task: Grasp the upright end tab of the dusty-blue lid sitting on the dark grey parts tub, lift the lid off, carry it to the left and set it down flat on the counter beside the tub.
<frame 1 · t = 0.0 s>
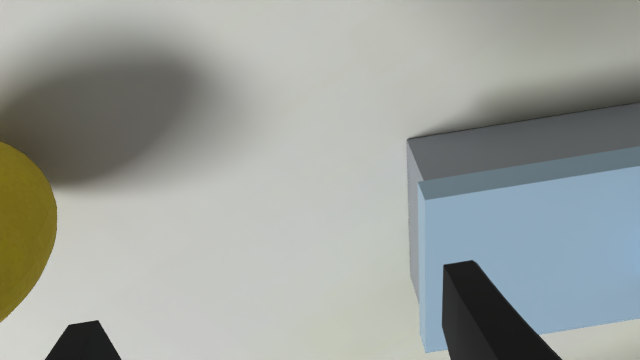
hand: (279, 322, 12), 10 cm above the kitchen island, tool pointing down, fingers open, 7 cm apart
tub: (544, 193, 24), on the kitchen island
lemon: (3, 155, 20), on the kitchen island
lid: (577, 241, 22), point 3 cm above the kitchen island, touching tub
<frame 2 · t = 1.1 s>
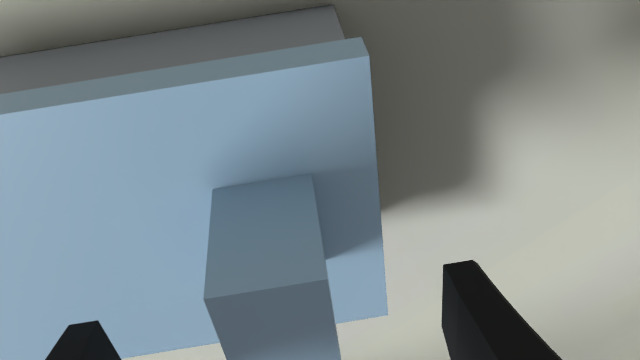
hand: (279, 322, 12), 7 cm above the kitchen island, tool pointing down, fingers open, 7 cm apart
tub: (157, 159, 17), on the kitchen island
lid: (143, 222, 15), point 3 cm above the kitchen island, touching tub
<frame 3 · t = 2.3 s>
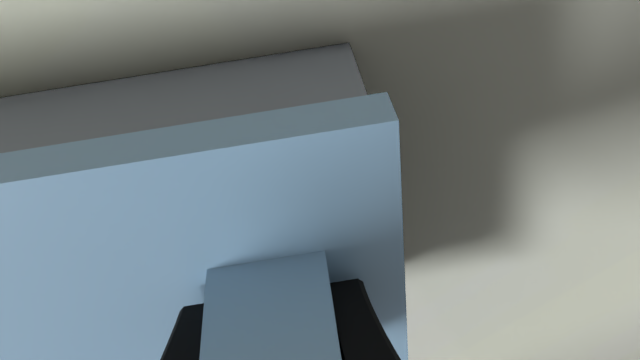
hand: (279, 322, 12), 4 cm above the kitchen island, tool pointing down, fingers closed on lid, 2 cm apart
tub: (146, 212, 15), on the kitchen island
lid: (127, 297, 13), point 3 cm above the kitchen island, touching gripper, tub
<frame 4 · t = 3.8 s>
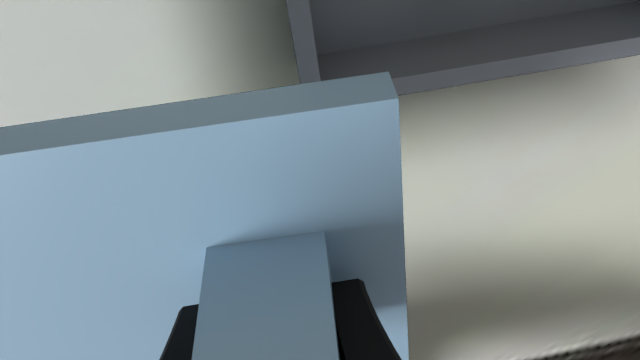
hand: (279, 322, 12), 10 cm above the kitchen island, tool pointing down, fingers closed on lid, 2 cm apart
lid: (128, 276, 13), point 8 cm above the kitchen island, touching gripper
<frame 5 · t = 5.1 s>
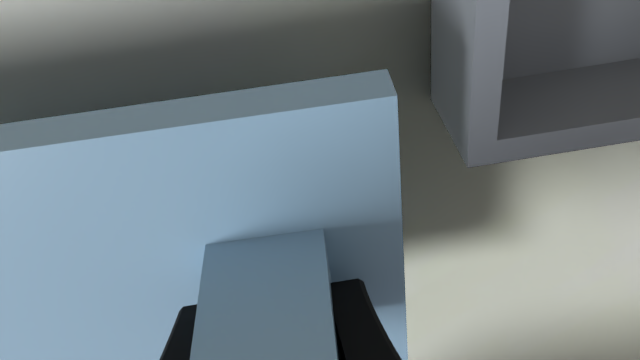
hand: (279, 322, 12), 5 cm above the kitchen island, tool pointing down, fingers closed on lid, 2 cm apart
lid: (128, 273, 13), point 3 cm above the kitchen island, touching gripper
when the fingers open (3 cm above the kitchen island, at t = 5.8 s): lid drops 1 cm, on the kitchen island.
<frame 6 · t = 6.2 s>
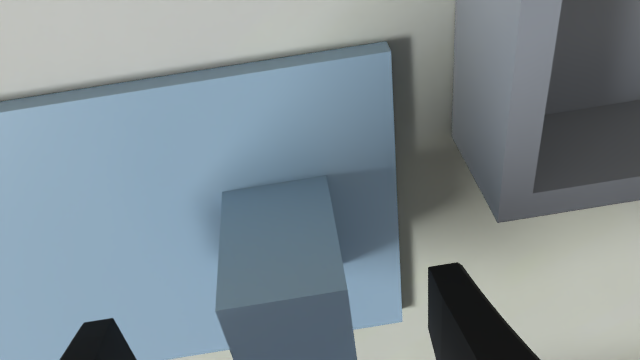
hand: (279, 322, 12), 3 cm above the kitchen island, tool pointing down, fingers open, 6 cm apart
lid: (148, 226, 14), on the kitchen island
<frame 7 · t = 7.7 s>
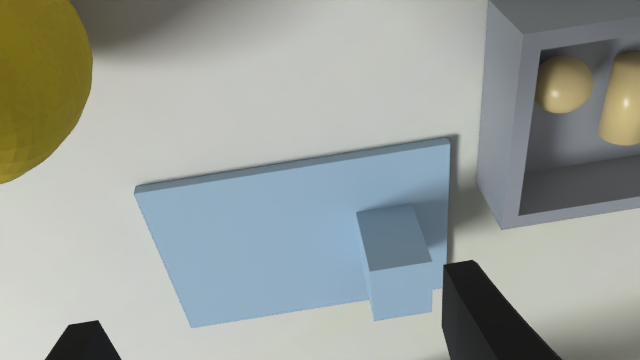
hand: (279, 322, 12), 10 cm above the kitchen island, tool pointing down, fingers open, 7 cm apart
tub: (635, 77, 21), on the kitchen island
lemon: (26, 9, 18), on the kitchen island
lid: (305, 230, 25), on the kitchen island
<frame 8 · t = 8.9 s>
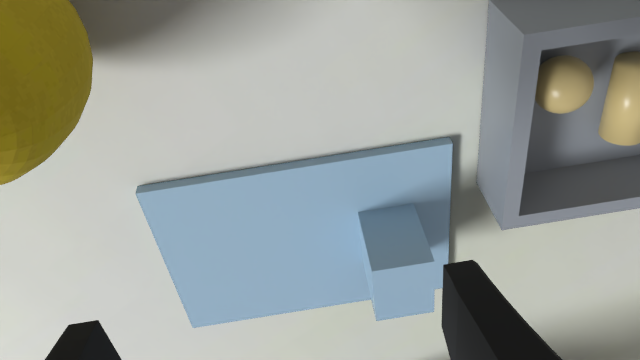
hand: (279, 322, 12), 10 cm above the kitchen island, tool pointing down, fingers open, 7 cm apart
tub: (635, 77, 21), on the kitchen island
lemon: (26, 8, 18), on the kitchen island
lid: (306, 230, 25), on the kitchen island
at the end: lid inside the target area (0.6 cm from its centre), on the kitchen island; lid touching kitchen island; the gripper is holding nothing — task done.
